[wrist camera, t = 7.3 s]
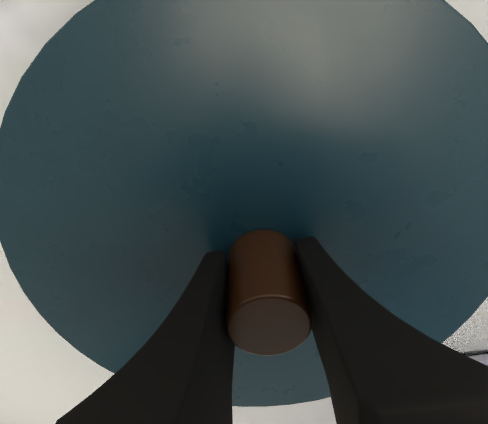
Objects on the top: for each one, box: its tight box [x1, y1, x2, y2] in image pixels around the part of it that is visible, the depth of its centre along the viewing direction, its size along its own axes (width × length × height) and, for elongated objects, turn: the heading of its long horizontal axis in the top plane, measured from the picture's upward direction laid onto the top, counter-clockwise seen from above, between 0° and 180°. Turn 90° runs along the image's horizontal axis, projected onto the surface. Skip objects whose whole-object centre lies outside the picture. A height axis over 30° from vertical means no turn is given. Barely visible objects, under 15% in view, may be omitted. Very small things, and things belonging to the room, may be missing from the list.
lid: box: [0, 0, 488, 407], centre depth 12 cm, size 18×18×4 cm
